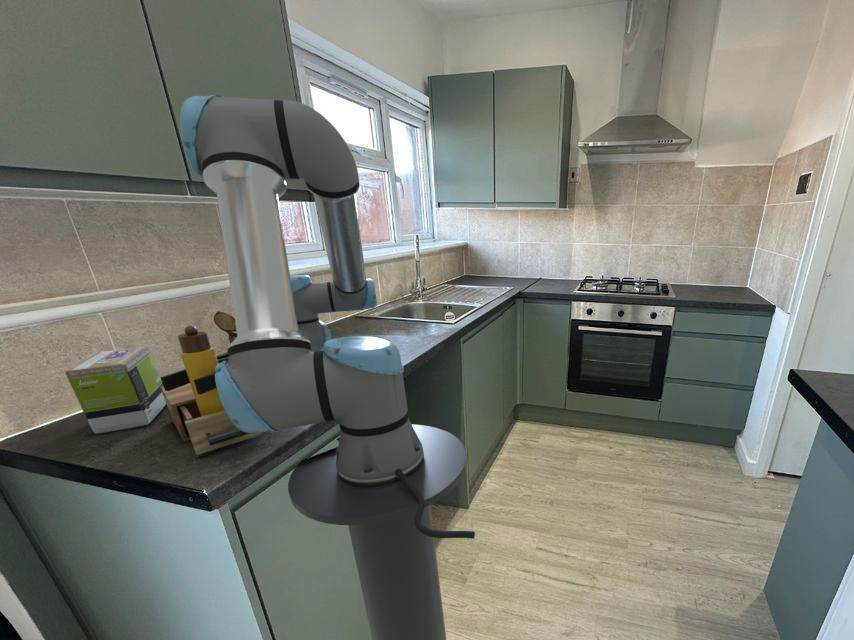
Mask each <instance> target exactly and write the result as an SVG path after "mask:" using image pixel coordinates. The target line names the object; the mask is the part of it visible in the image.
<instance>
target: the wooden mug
mask: <svg viewBox="0 0 854 640" xmlns="http://www.w3.org/2000/svg"><path fill="white" fill-rule="evenodd" d="M213 322H214V323H215V325H216V326H217V327H218V328H219V329H220V330H221V331H223V332H224V333H227V335H228V341H229V345H230V344H231V343H232V342H233V341H234V340H235V339H236V337H237V330H236V323H235V317H234V316H233V315H231V314H229V313H227V312H224V311H219V310H217V311H216V312H215V314H214V316H213Z"/></svg>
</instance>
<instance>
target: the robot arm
mask: <svg viewBox="0 0 854 640" xmlns="http://www.w3.org/2000/svg"><path fill="white" fill-rule="evenodd" d="M179 115H180V116H179V130H180V136H181V137H180V138H181V141H182V142H183V145H184V146H183V150H184V154H185V158H186V159H187V162H188V164H189V166H190V167H191V170H192V171H193V172H194V174H195V175H196V176H197V177H199V178H202V179H203V182H204V184H205V185H206V187H207V188H209V190H211V191H212V192H214V193H215V194H216V196H217V203H218V205H217V206H218V212H219V218H220V219H219V220H220V225H221V232H222V240H223V246H224V253H225V259H226V267H227V274H228V280H229V281H228V282H229V287H230V294H231V303H232V309H233V315H234V316H233V317H234V319H235V323H236V330H237V337H236V339H235V340H234V341H233V342H232V343H231V344H230V343H229V345H227V348H226V349H227V351H226V352H224V353H221V354H218V355H216V357H217V360H218V364H217V366H216V368H215V372H214V373H212V374H209V375H206V376H204V377H201V378H198V379H195V380H194V383H195V386H196V389H197V392H198V394H203V393H206V392H208V391H211V390H213V389H216V388H217V391H218V394H219V397H220V400H221V403H222V405H223V407H224V409H225V411H226V413H227V415H228V417H229V418H230V420H231V421H232V423H233V424H234V425H235V426H236V427H237V428H238V429H240V430H241V431H243V432H246V433H258V432H262V433H263V432H265V433H266V432H279V430H280V431H281V430H284V429H285V430H286V429H291V428H297V427H303V426H304V427H305V426H309V425H315V424H320V423H325V422H333V421H338V425H339V430H340V431H339V432H340V434H339V438H340V440H339V441H338V446H336V447H337V448H338V452H337V454H336V455H337V458H336V468H337V473H338V476H339V478H340V479H341V480H342V481H344V482H345V483H347V484H350V485H354V486H360V487H374V486H381V485H386V484H390V483H393V482H396V481H399V480H402V482H403V483H404V484H405V485H406V487H407V488H408V489H409V490H410V491H411V492H412V493H413V494H414V495H415V497H416V498H417V500H418V503H419V506H418V510H417V512H416V515H415V520H414V523H415V527H416V528H417V529H418V530H419V531H420V532H421V533H423V534H424V535H427V536H430V537H434V539H470V540H471V539H475V537H476V531H474V530H436V529H433V530H432V529H429V528H426V527H425V526H423V525H422V523H421V517H422V514H423V511H424V507H425V502H424V498H423V496H422V494H421V493H420V492H419V491H418V490H417V488H416V487H415V486H414V485H413V484H412V483H411V482H410V481H409V480H408V478H407V476H409V475H411V474H412V473H414V472H415V471H416V470H417V469H418V468H419V467H420V466H421V464H422V463H423V460H424V453H423V447H422V444H421V442H420V440H419V438H418V436H417V434H416V432H415V430H414V428H413V426H412V422H411V421H410V416H409V408H408V402H407V401H408V400H407V394H406V387H405V381H404V372H405V368H404V366H403V363H402V358H401V353H400V350H399V348H398V347H397V345H396V344H394V342H391V341H390V340H388V339H384V338H381V337H380V338H379V337H374V336H364V335H363V336H362V335H361V336H360V335H353V336H351V335H350V336H341V337H334V338H332V332H331V330H330V329H329V327H328V325H327V324H326V323H325V322H323V321H321V320H320V318H319V314H330V313H341V312H342V313H343V312H354V311H356V312H357V311H364V310H370V309H375V308H376V307H377V306H378V301H377V299H378V298H377V291H376V285H375V282H374V280H373V279H371V278H367V275H366V267H365V259H364V251H363V246H362V244H363V243H362V236H361V229H360V221H359V213H358V204H357V197H356V194H357V193H358V191H359V189H360V177H359V171H358V166H357V162H356V160H355V157H354V156H353V153H352V151H351V149H350V147H349V146H348V144H347V142H346V141H345V139H344V137H343V136H342V135H341V133H340V132H339V131H338V129H337V128H336V127H335V126H334V125H333V124H332V123H331V122H330V121H329V120H328V119H327V118H326V117H325V116H324V115H322V114H321V112H318V111H317V110H316V109H314V108H312V107H311V106H309V105H307V104H304V103H302V102H300V101H296V100H291V99H283V100H281V99H280V100H279V99H267V98H251V97H232V96H222V95H218V94H211V95H193V96H190V97H188V98H187V99H185V100H184V102H183V103H182V106H181V109H180V114H179ZM301 179H302V180H304V182H305V186H306V188H307V190H308V192H310V193H311V194H313V196H314V202H315V206H316V209H317V210H316V211H317V214H318V215H317V216H318V220H319V225H320V228H321V232H322V237H323V241H324V247H325V252H326V256H327V260H328V265H329V269H330V273H331V277H332V281H313V280H312V278H311V276H310V275H308V274H292V275H291V274H290V267H289V266H290V265H289V260H288V253H287V246H286V240H285V233H284V228H283V220H282V214H281V208H280V201H279V199H280V198H281V197H282V196H283V195H285V193H286V191H287V182H286V181H287V180H301ZM160 378H161V380H162V383H163V386H164V389H165V391H170V390H173V389H176V388H178V387H181V386H184V385H186V384H189V383H190V381H189V378H188V375H187V372H186V369H185V368H184V369H181V370H178V371H174V372H172V373H169V374H166V375H163V376H160Z"/></svg>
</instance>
